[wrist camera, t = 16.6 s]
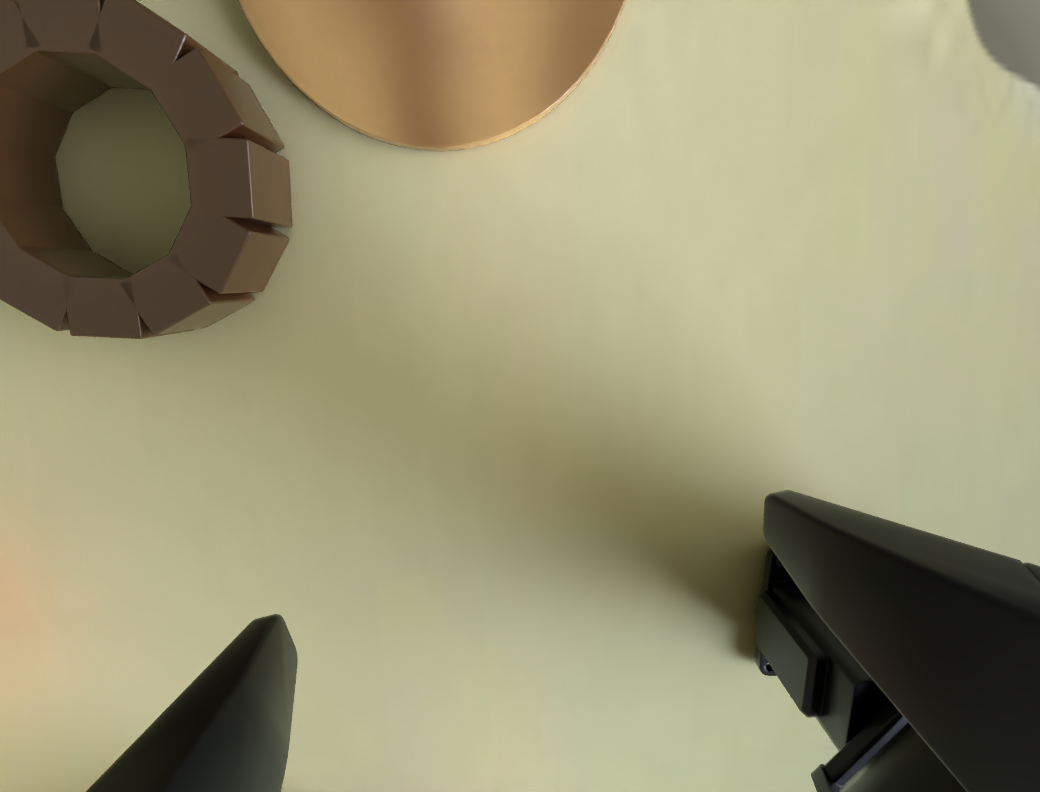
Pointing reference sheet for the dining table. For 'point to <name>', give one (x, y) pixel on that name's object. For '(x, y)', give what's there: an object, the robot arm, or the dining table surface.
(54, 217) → the can holder
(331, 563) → the dining table surface
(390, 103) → the cork trivet
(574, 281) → the dining table surface
